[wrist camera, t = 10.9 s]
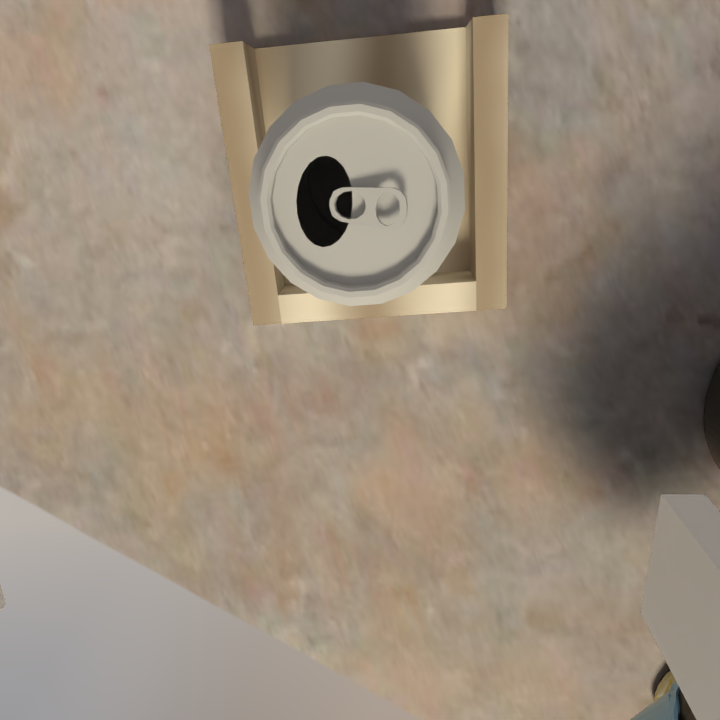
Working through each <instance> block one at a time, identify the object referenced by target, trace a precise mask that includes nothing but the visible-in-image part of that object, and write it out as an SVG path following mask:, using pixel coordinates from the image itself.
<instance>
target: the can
mask: <svg viewBox="0 0 720 720" xmlns="http://www.w3.org/2000/svg"><path fill="white" fill-rule="evenodd" d="M249 200H250V207H251V213H252V220H253V226H254V229H255V232H256V234H257V236H258V238H259V240H260V242H261V244H262V246H263V248H264V250H265V252H266V254H267V256H268V258H269V260H270V261H271V262H272V263H273V264H274V265H275V266H276V267H277V268H278V269H279V270H280V271H281V273H282V274H283V275H284V276H285V277H286V278H287V279H288V280H289V281H290V282H291V283H292V284H294V285H296V286H297V287H299V288H301V289H302V290H304V291H306V292H308V293H309V294H311V295H313V296H314V297H316V298H318V299H321V300H325V301H329V302H334V303H338V304H342V305H347V306H359V305H373V304H382V303H385V302H387V301H390V300H392V299H395V298H397V297H400V296H402V295H405V294H407V293H410V292H412V291H413V290H414V289H416V288H417V287H418V286H419V285H420V284H422V283H423V282H424V281H425V280H427V279H428V278H429V277H430V276H431V275H433V274H434V273H435V272H436V271H437V270H438V269H439V267H440V266H441V264H442V262H443V261H444V259H445V258H446V256H447V255H448V253H449V252H450V250H451V249H452V247H453V246H454V244H455V243H456V239H457V236H458V232H459V229H460V225H461V222H462V218H463V215H464V211H465V193H464V172H463V170H462V167H461V164H460V161H459V158H458V155H457V152H456V150H455V147H454V144H453V141H452V139H451V138H450V136H449V135H448V134H447V132H446V131H445V130H444V129H443V127H442V126H441V125H440V123H439V122H438V121H437V119H436V118H435V117H434V116H433V114H432V113H431V112H430V110H428V109H426V108H425V107H423V106H422V105H420V104H419V103H417V102H416V101H414V100H413V99H411V98H410V97H408V96H407V95H405V94H404V93H402V92H401V91H399V90H395V89H391V88H387V87H383V86H379V85H375V84H371V83H367V82H356V83H347V84H337V85H328V86H326V87H324V88H321V89H319V90H317V91H315V92H313V93H311V94H309V95H307V96H305V97H303V98H301V99H299V100H297V101H295V102H294V103H293V104H292V105H291V106H290V107H289V108H288V109H287V110H286V111H285V112H284V113H283V114H282V115H281V116H280V117H279V118H278V119H277V120H276V121H275V122H274V123H273V124H272V125H271V126H270V127H269V129H268V131H267V133H266V135H265V137H264V139H263V141H262V143H261V145H260V147H259V149H258V151H257V153H256V155H255V157H254V160H253V167H252V174H251V180H250V187H249Z"/></svg>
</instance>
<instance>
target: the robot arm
mask: <svg viewBox="0 0 720 720" xmlns="http://www.w3.org/2000/svg"><path fill="white" fill-rule="evenodd" d="M704 426H705V434H706V440H707V443H708V447H709V450H710V452H711V455H712V457H713V459H714V461H715V462H716V464H717V466H718V467H719V469H720V364H719V365H718V367H717V369H716V371H715V374H714V376H713V378H712V381H711V384H710V387H709V390H708V394H707V398H706V404H705V412H704ZM5 605H6V602H5V599H4V596H3V593H2V589H1V586H0V611H1V609H2V608H3V607H4V606H5ZM640 613H641V615H642V617H643V619H644V621H645V623H646V624H647V626H648V628H649V630H650V632H651V634H652V636H653V638H654V640H655V642H656V644H657V645H658V647H659V649H660V651H661V653H662V655H663V657H664V659H665V661H666V663H667V665H668V666H669V668H670V670H671V672H672V674H673V676H674V678H675V681H674V683H673V684H672V685H671V688H670V691H669V692H667V693H666V694H664V695H663V696H662V697H660V698H659V699H658V700H656V701H655V702H653V703H652V704H651V705H649V706H648V707H647V708H645V709H644V710H643V711H641V712H640V713H638V714H637V715H636V716H634V717H633V718H632V719H630V720H720V511H719V510H718V509H717V508H716V507H715V506H714V504H713V503H712V502H711V501H710V500H709V499H708V498H707V496H706V495H705V494H661V498H660V503H659V509H658V515H657V520H656V526H655V532H654V537H653V543H652V549H651V554H650V560H649V566H648V572H647V577H646V583H645V589H644V594H643V600H642V606H641V611H640Z"/></svg>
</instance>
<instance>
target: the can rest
mask: <svg viewBox="0 0 720 720" xmlns="http://www.w3.org/2000/svg"><path fill="white" fill-rule="evenodd" d="M209 46H210V53H211V59H212V65H213V72H214V78H215V84H216V91H217V97H218V104H219V110H220V116H221V123H222V129H223V135H224V142H225V148H226V155H227V161H228V167H229V174H230V180H231V186H232V193H233V199H234V206H235V212H236V218H237V225H238V231H239V237H240V244H241V250H242V257H243V263H244V269H245V276H246V282H247V288H248V295H249V301H250V308H251V314H252V320H253V325H267V324H282V323H296V322H311V321H326V320H341V319H356V318H371V317H385V316H400V315H415V314H430V313H445V312H460V311H475V310H489V309H504V308H507V158H508V14H499V15H489V16H480V17H473V18H472V19H471V20H470V22H469V23H468V25H467V26H466V27H461V28H451V29H442V30H432V31H422V32H412V33H403V34H393V35H383V36H373V37H364V38H354V39H344V40H334V41H325V42H315V43H305V44H295V45H286V46H276V47H266V48H256V49H254V48H253V47H251V46H249V45H248V44H246V43H245V42H243V41H238V42H229V43H219V44H209ZM356 82H367V83H371V84H375V85H379V86H383V87H387V88H391V89H395V90H399V91H401V92H402V93H404V94H405V95H407V96H408V97H410V98H411V99H413V100H414V101H416V102H417V103H419V104H420V105H422V106H423V107H425V108H426V109H428V110H430V112H431V113H432V114H433V116H434V117H435V118H436V119H437V121H438V122H439V123H440V125H441V126H442V127H443V129H444V130H445V131H446V132H447V134H448V135H449V136H450V138H451V139H452V141H453V144H454V147H455V150H456V152H457V155H458V158H459V161H460V164H461V167H462V170H463V172H464V193H465V211H464V215H463V218H462V222H461V225H460V229H459V232H458V236H457V239H456V243H455V244H454V246H453V247H452V249H451V250H450V252H449V253H448V255H447V256H446V258H445V259H444V261H443V262H442V264H441V266H440V267H439V269H438V270H437V271H436V272H435V273H434V274H433V275H431V276H430V277H429V278H428V279H427V280H425V281H424V282H423V283H422V284H420V285H419V286H418V287H417V288H416V289H414V290H413V291H412V292H410V293H407V294H405V295H402V296H400V297H397V298H395V299H392V300H390V301H387V302H385V303H382V304H373V305H359V306H347V305H342V304H338V303H334V302H329V301H325V300H321V299H318V298H316V297H314V296H313V295H311V294H309V293H308V292H306V291H304V290H302V289H301V288H299V287H297V286H296V285H294V284H292V283H291V282H290V281H289V280H288V279H287V278H286V277H285V276H284V275H283V274H282V273H281V271H280V270H279V269H278V268H277V267H276V266H275V265H274V264H273V263H272V262H271V261H270V260H269V258H268V256H267V254H266V252H265V250H264V248H263V246H262V244H261V242H260V240H259V238H258V236H257V234H256V232H255V229H254V226H253V220H252V213H251V207H250V200H249V187H250V180H251V174H252V167H253V160H254V157H255V155H256V153H257V151H258V149H259V147H260V145H261V143H262V141H263V139H264V137H265V135H266V133H267V131H268V129H269V127H270V126H271V125H272V124H273V123H274V122H275V121H276V120H277V119H278V118H279V117H280V116H281V115H282V114H283V113H284V112H285V111H286V110H287V109H288V108H289V107H290V106H291V105H292V104H293V103H294V102H295V101H297V100H299V99H301V98H303V97H305V96H307V95H309V94H311V93H313V92H315V91H317V90H319V89H321V88H324V87H326V86H328V85H337V84H347V83H356Z"/></svg>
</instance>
